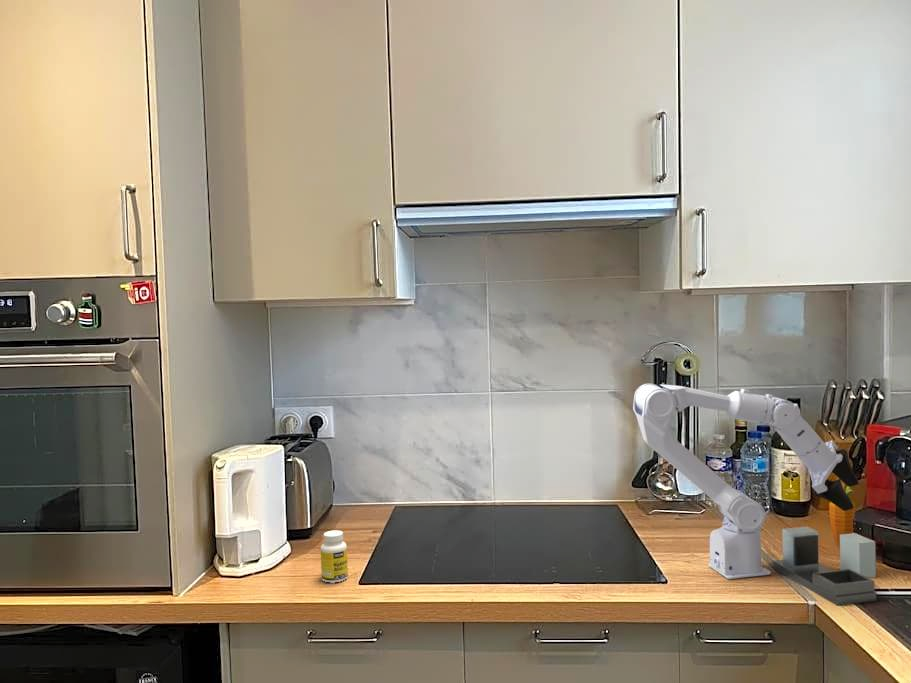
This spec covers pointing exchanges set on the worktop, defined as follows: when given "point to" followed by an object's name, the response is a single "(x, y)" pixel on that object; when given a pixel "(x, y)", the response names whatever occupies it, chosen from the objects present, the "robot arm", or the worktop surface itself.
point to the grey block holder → (820, 570)
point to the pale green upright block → (858, 554)
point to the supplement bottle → (334, 557)
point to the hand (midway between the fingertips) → (851, 496)
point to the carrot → (841, 520)
